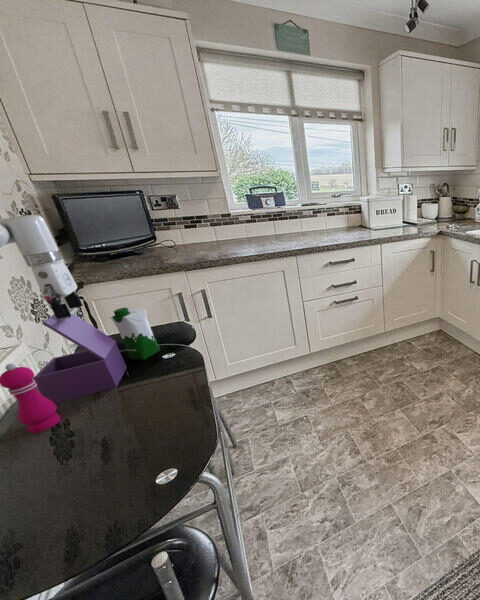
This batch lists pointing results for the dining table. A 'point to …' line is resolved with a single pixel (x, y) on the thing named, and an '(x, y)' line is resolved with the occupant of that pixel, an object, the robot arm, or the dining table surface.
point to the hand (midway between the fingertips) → (70, 312)
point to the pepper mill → (29, 399)
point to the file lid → (81, 334)
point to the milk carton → (135, 332)
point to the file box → (80, 375)
